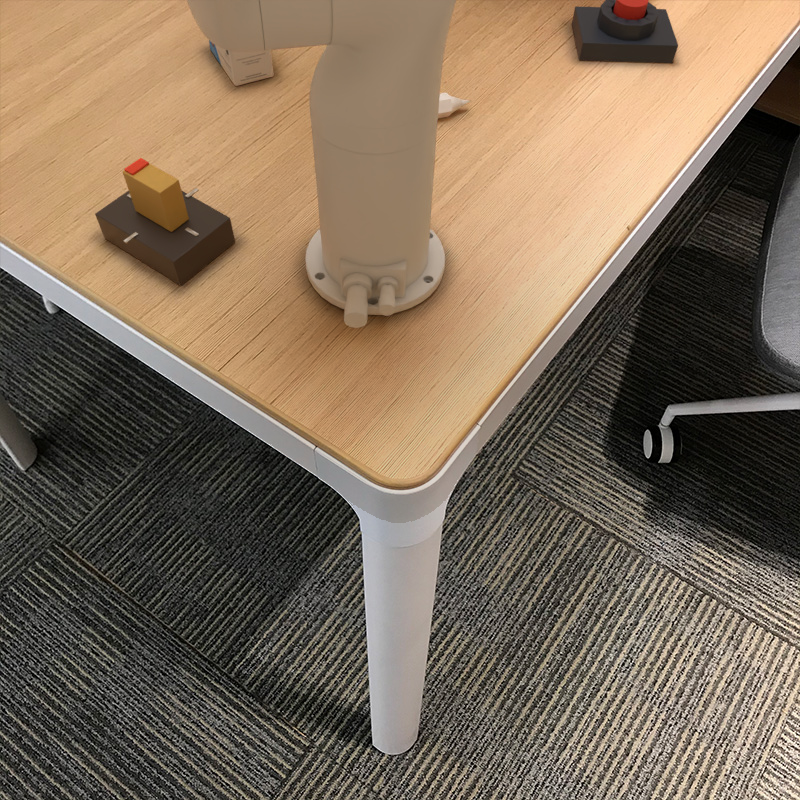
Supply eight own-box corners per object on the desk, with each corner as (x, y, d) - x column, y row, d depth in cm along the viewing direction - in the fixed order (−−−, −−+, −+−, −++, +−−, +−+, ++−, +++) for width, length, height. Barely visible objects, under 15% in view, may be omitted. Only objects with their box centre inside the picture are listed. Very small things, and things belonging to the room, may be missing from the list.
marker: (471, 115, 84) (331, 141, 81) (465, 97, 85) (326, 123, 81) (478, 103, 82) (334, 130, 78) (472, 84, 82) (329, 111, 78)
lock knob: (189, 219, 68) (178, 177, 65) (171, 232, 67) (159, 190, 64) (153, 198, 70) (140, 155, 66) (135, 211, 69) (120, 168, 65)
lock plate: (242, 237, 72) (237, 210, 69) (173, 292, 68) (165, 266, 65) (166, 193, 75) (158, 167, 72) (96, 244, 71) (85, 217, 68)
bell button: (646, 22, 88) (651, 7, 87) (615, 21, 88) (619, 6, 87) (641, 5, 90) (645, -10, 89) (611, 5, 90) (614, -11, 89)
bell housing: (672, 63, 90) (683, 30, 87) (578, 60, 90) (586, 27, 86) (660, 26, 94) (670, -7, 91) (571, 23, 94) (578, -9, 91)
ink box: (209, 49, 90) (188, -58, 80) (249, 39, 91) (233, -67, 81) (234, 88, 85) (216, -21, 76) (276, 77, 87) (263, -31, 77)
